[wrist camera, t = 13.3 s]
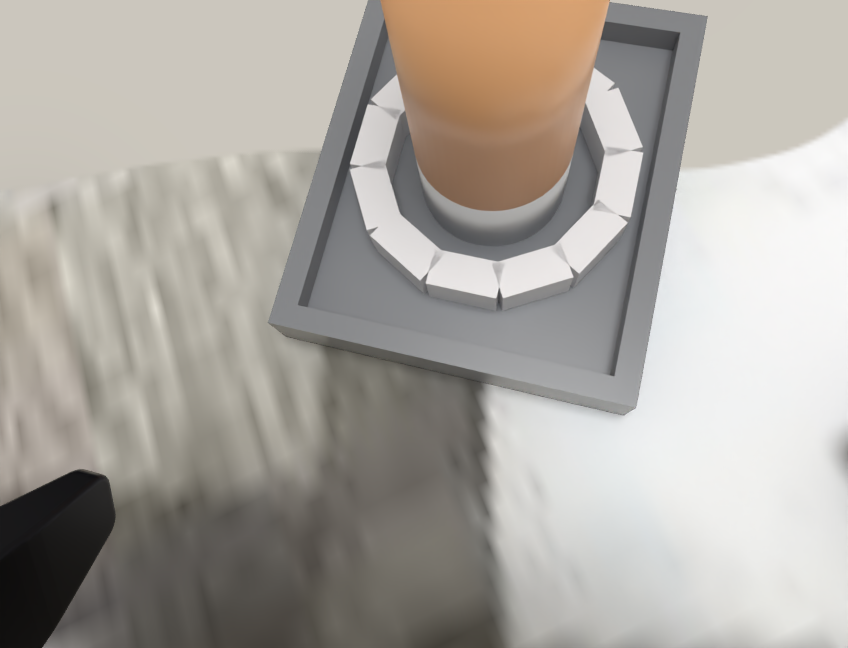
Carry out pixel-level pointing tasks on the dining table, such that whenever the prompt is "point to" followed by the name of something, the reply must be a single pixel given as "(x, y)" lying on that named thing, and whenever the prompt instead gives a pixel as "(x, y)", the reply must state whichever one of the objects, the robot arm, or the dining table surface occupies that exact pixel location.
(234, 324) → the dining table surface
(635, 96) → the housing
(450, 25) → the peach bulb knob
